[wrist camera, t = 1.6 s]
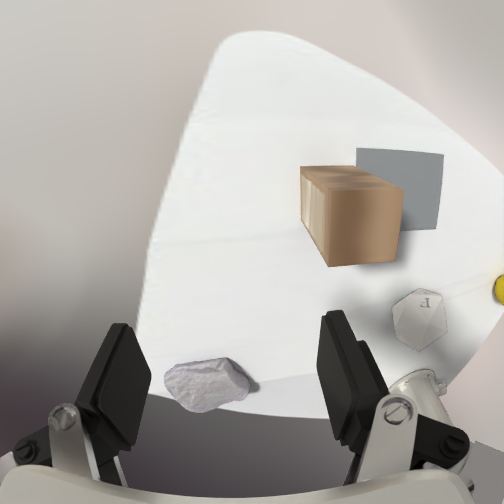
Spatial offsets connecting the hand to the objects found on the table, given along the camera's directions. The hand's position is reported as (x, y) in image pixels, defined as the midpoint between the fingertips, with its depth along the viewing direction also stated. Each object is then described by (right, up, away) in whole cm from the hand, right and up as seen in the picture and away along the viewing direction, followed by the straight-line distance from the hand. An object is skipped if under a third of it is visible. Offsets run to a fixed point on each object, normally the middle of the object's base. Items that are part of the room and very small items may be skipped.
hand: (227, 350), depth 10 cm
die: (+24, -4, +27) cm, 37 cm away
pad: (+19, +11, +20) cm, 29 cm away
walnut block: (+9, +10, +20) cm, 24 cm away
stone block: (-7, -16, +32) cm, 36 cm away
